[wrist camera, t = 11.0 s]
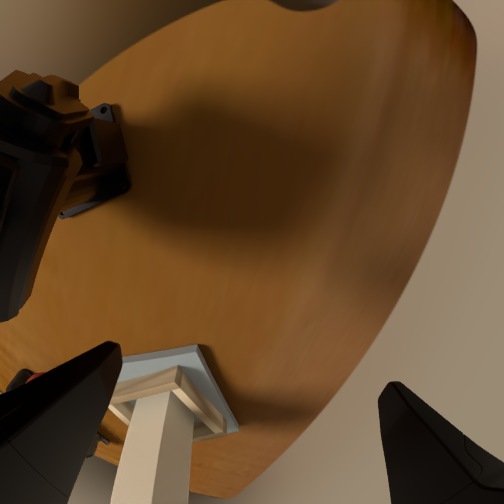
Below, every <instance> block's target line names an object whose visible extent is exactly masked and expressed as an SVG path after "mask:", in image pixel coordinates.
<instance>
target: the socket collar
mask: <svg viewBox="0 0 504 504" xmlns="http://www.w3.org/2000/svg"><path fill="white" fill-rule="evenodd" d="M168 391H173V392H174V393H175V394H176V395H177V397H178V398H179V399H180V400H181V401H182V402H183V403H184V404H185V405H186V406H187V407H188V408H189V409H190V410H191V411H192V412H193V413H194V414H195V415H196V416H197V417H198V418H199V419H200V420H201V421H200V422H196V423H194V426H193V437H192V443H193V442H199V441H204V440H209V439H213V438H218V437H222V436H227V420H226V419H225V418H224V417H223V416H222V414H221V413H220V412H219V411H218V410H217V409H216V408H215V407H214V406H213V405H212V404H211V403H210V402H209V401H208V399H207V398H206V397H205V396H204V395H203V394H202V393H201V392H200V391H199V389H198V388H197V387H196V386H195V385H194V384H193V383H192V381H191V380H190V379H189V378H188V377H187V375H186V374H185V373H184V372H183V371H182V369H181V368H180V367H179V366H178V365H176V366H173V367H170V368H167V369H164V370H160V371H157V372H154V373H150V374H147V375H144V376H140V377H137V378H133V379H130V380H126V381H122V382H119V383H117V384H116V387H115V390H114V393H113V396H112V399H111V401H110V404H109V407H108V408H109V409H110V410H111V411H112V412H113V413H114V414H115V415H117V416H118V417H119V418H120V419H121V420H122V421H123V422H124V423H126V424H127V425H128V426H129V425H130V421H131V418H132V414H133V411H134V408H135V407H134V406H133V405H132V404H131V403H130V402H129V401H131V400H135V399H140V398H144V397H148V396H152V395H156V394H160V393H164V392H168Z"/></svg>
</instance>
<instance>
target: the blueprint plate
mask: <svg viewBox="0 0 504 504" xmlns="http://www.w3.org/2000/svg"><path fill="white" fill-rule="evenodd" d="M122 360H123V366H122V370H121V373H120V375H119V378H118V381H117V383H119V382H122V381H126V380H130V379H133V378H137V377H140V376H144V375H147V374H150V373H154V372H157V371H160V370H164V369H167V368H170V367H173V366H176V365H178V366H179V367H180V368H181V369H182V371H183V372H184V373H185V374H186V375H187V377H188V378H189V379H190V380H191V381H192V383H193V384H194V385H195V386H196V387H197V388H198V389H199V391H200V392H201V393H202V394H203V395H204V396H205V397H206V398H207V399H208V401H209V402H210V403H211V404H212V405H213V406H214V407H215V408H216V409H217V410H218V411H219V412H220V413H221V414H222V416H223V417H224V418H225V419H226V420H227V433H231V432H237V431H239V424H238V422H237V421H236V419H235V417H234V415H233V413H232V412H231V410H230V408H229V406H228V404H227V402H226V401H225V399H224V397H223V395H222V393H221V391H220V389H219V387H218V385H217V383H216V381H215V379H214V377H213V376H212V374H211V372H210V370H209V367H208V365H207V363H206V361H205V359H204V357H203V355H202V353H201V351H200V349H199V347H198V345H197V344H195V345H190V346H185V347H179V348H174V349H168V350H162V351H157V352H151V353H144V354H138V355H131V356H124V357H122ZM136 401H137V399H135V400H131V401H129V402H130V403H131V404H132V405H133V406H134V407H135V404H136ZM200 421H201V420H200V419H199V418H198V417H197V416H196V415H194V423H196V422H200Z"/></svg>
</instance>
